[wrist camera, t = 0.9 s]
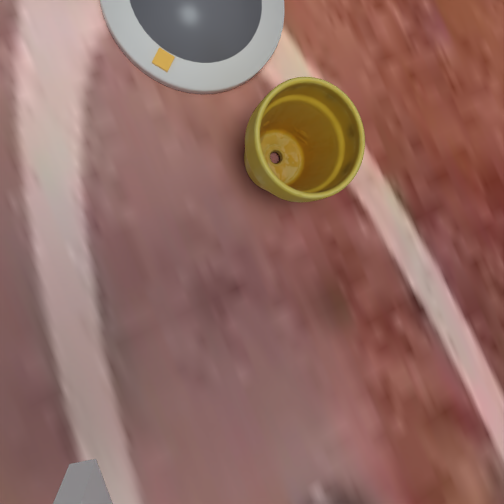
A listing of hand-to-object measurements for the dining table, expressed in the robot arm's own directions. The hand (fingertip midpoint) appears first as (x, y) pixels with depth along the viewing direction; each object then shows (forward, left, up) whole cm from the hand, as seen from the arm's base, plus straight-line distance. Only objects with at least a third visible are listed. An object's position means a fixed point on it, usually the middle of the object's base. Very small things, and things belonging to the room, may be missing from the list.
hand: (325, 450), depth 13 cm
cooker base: (-12, +28, -32) cm, 44 cm away
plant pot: (+2, +18, -32) cm, 37 cm away
